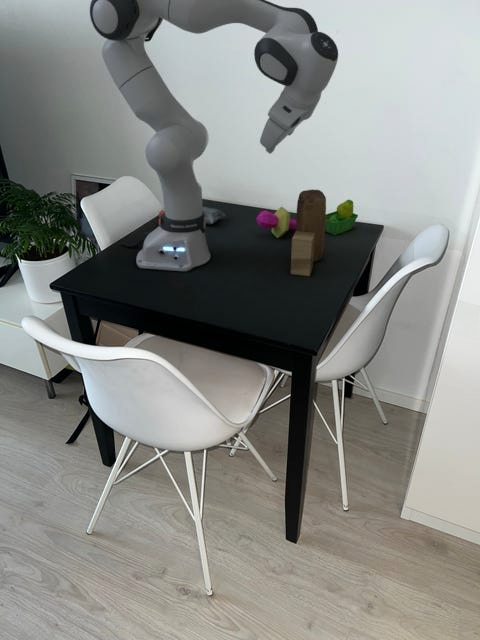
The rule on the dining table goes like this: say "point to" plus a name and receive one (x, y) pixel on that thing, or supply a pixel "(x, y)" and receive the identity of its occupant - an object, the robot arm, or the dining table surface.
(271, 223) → the toy
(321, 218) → the block
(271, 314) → the dining table surface
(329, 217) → the fruit basket
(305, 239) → the maple block
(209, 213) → the packaged food
